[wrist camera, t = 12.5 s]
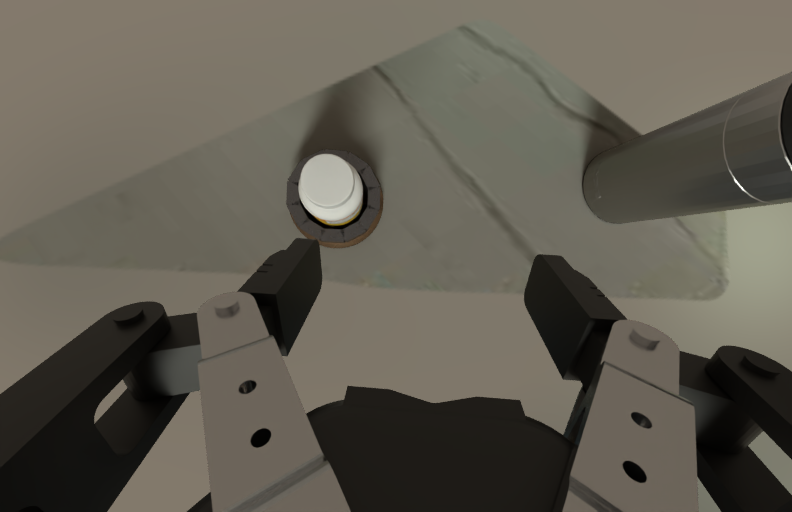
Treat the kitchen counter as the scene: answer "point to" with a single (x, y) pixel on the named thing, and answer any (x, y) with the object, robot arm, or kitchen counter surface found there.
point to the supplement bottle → (331, 190)
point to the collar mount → (338, 235)
